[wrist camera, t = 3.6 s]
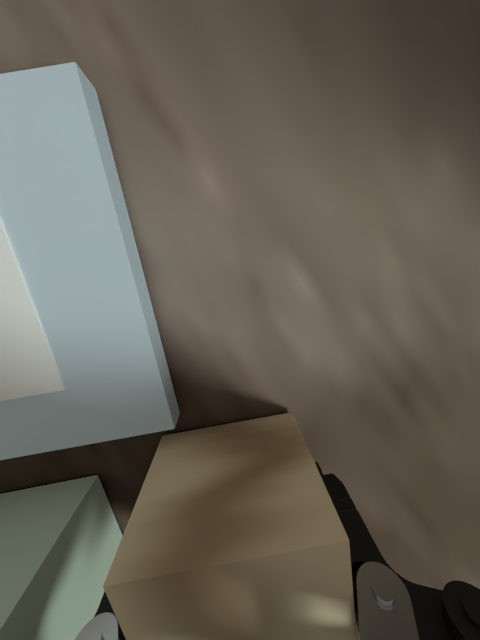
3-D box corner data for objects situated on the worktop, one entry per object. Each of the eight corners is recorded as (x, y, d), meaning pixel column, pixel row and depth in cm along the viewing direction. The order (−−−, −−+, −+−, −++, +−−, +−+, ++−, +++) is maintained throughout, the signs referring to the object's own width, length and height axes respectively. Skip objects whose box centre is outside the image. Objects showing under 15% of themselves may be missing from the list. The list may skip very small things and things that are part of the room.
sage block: (97, 474, 11) (-13, 649, 6) (128, 551, 12) (59, 751, 7) (-8, 495, 11) (-209, 689, 6) (33, 570, 12) (-104, 784, 7)
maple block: (292, 412, 10) (349, 540, 5) (305, 512, 12) (360, 686, 7) (162, 435, 10) (102, 586, 5) (190, 533, 12) (163, 725, 7)
